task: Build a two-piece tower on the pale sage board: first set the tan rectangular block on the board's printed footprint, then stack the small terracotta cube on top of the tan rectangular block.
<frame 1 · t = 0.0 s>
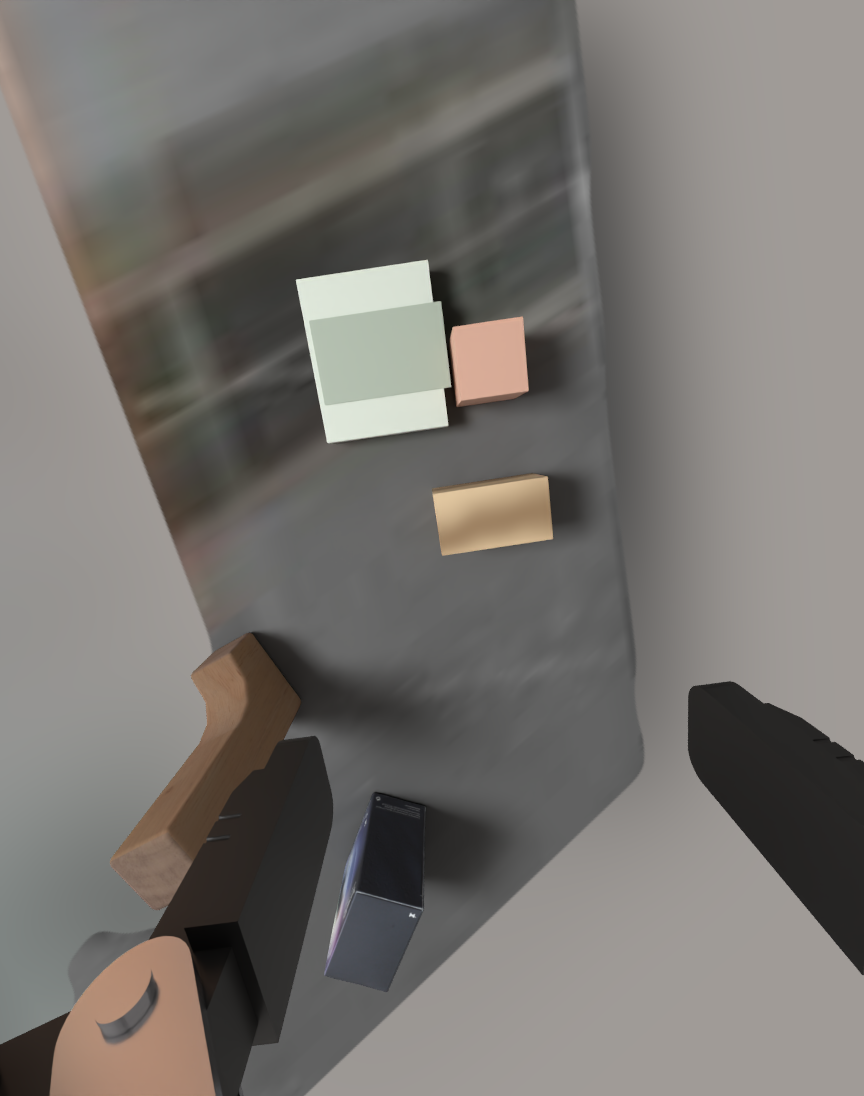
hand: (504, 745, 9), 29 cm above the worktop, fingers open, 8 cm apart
cube: (482, 372, 35), on the worktop
small box: (384, 832, 46), on the worktop
pad: (378, 361, 34), on the worktop
tan rectangular block: (485, 508, 37), on the worktop
wooden block: (260, 675, 41), on the worktop
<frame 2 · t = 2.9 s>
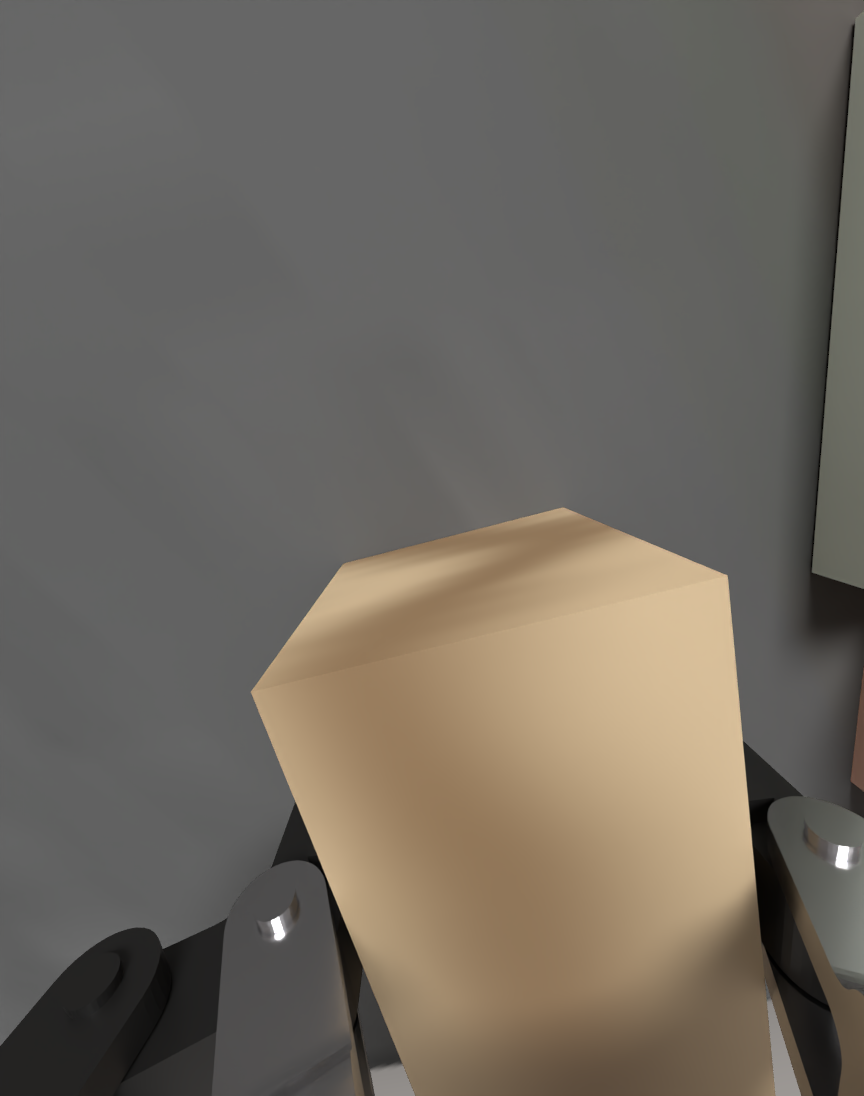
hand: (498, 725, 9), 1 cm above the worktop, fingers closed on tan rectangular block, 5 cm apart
tan rectangular block: (495, 709, 10), on the worktop, touching gripper
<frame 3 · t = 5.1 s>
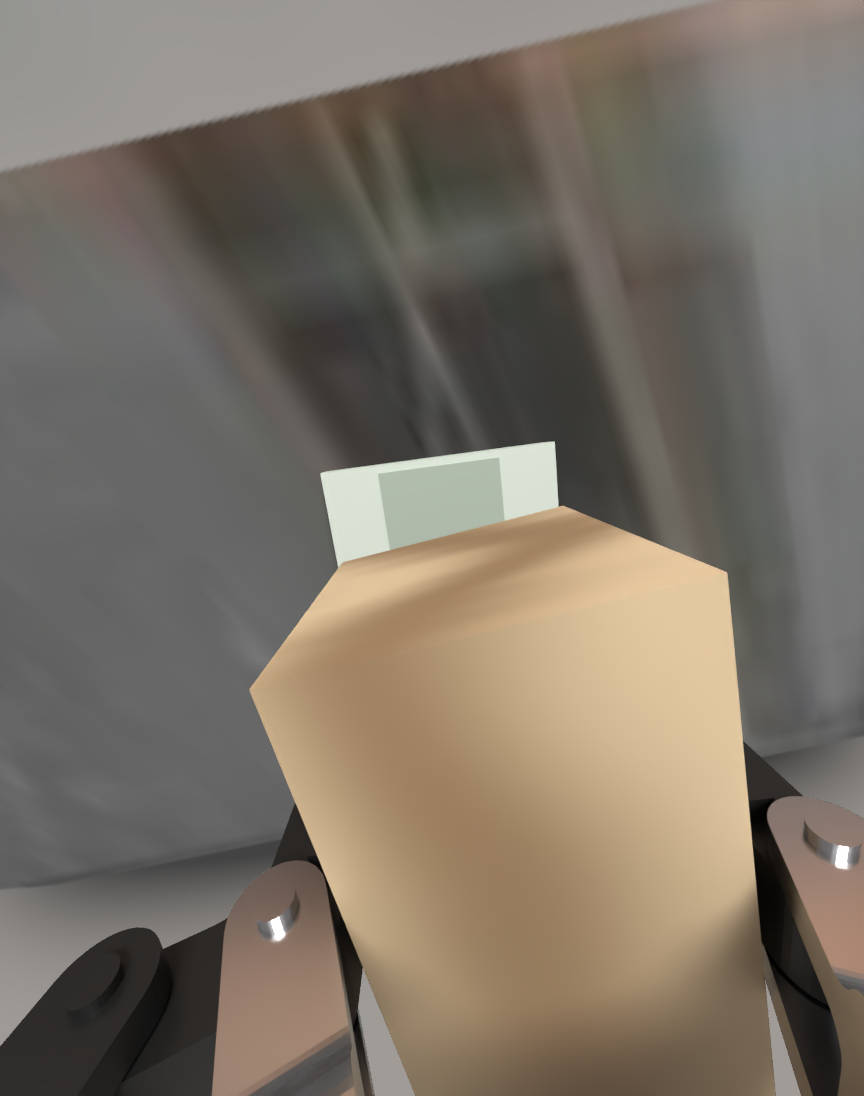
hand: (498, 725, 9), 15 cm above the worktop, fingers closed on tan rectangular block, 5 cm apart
pad: (446, 543, 24), on the worktop
tan rectangular block: (495, 708, 10), point 14 cm above the worktop, touching gripper
when the fingers open (3 cm above the worktop, at t = 7.8 s): tan rectangular block stays where it is, resting on pad.
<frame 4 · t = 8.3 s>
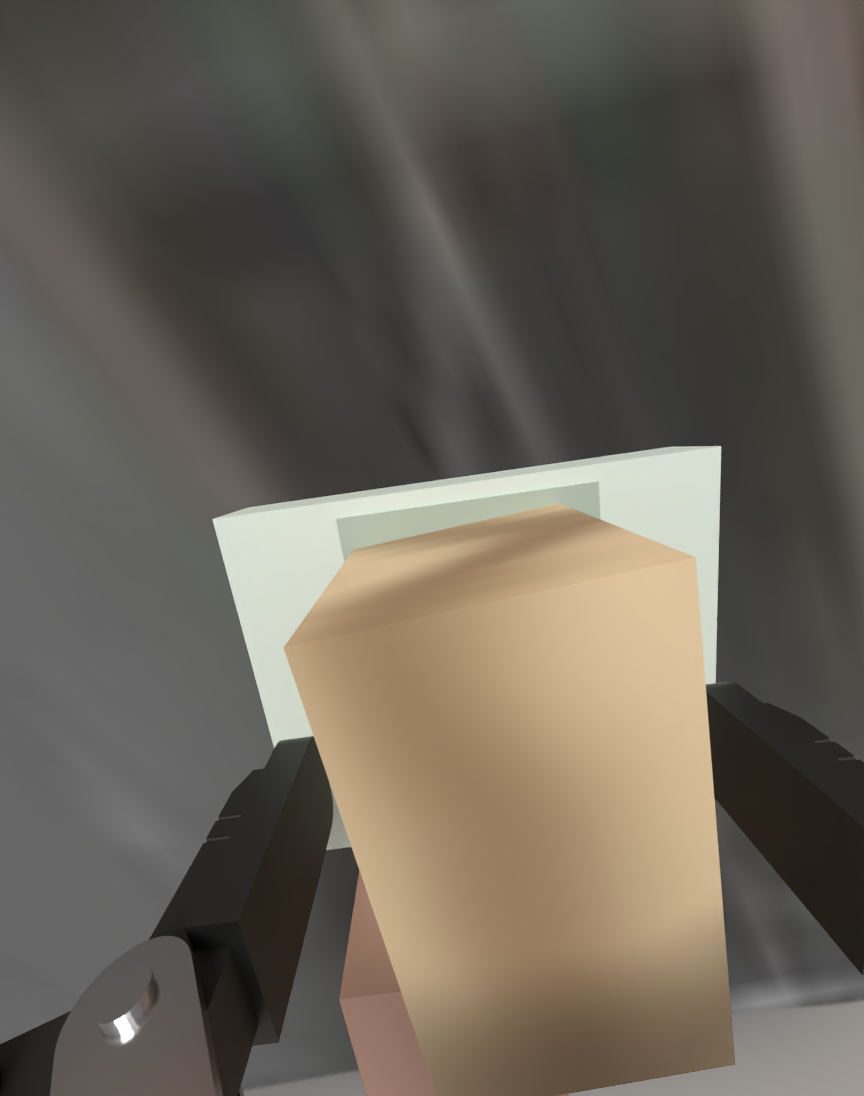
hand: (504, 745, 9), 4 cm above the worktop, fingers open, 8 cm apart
cube: (449, 859, 15), on the worktop
pad: (477, 639, 13), on the worktop
tan rectangular block: (491, 691, 11), point 2 cm above the worktop, touching pad
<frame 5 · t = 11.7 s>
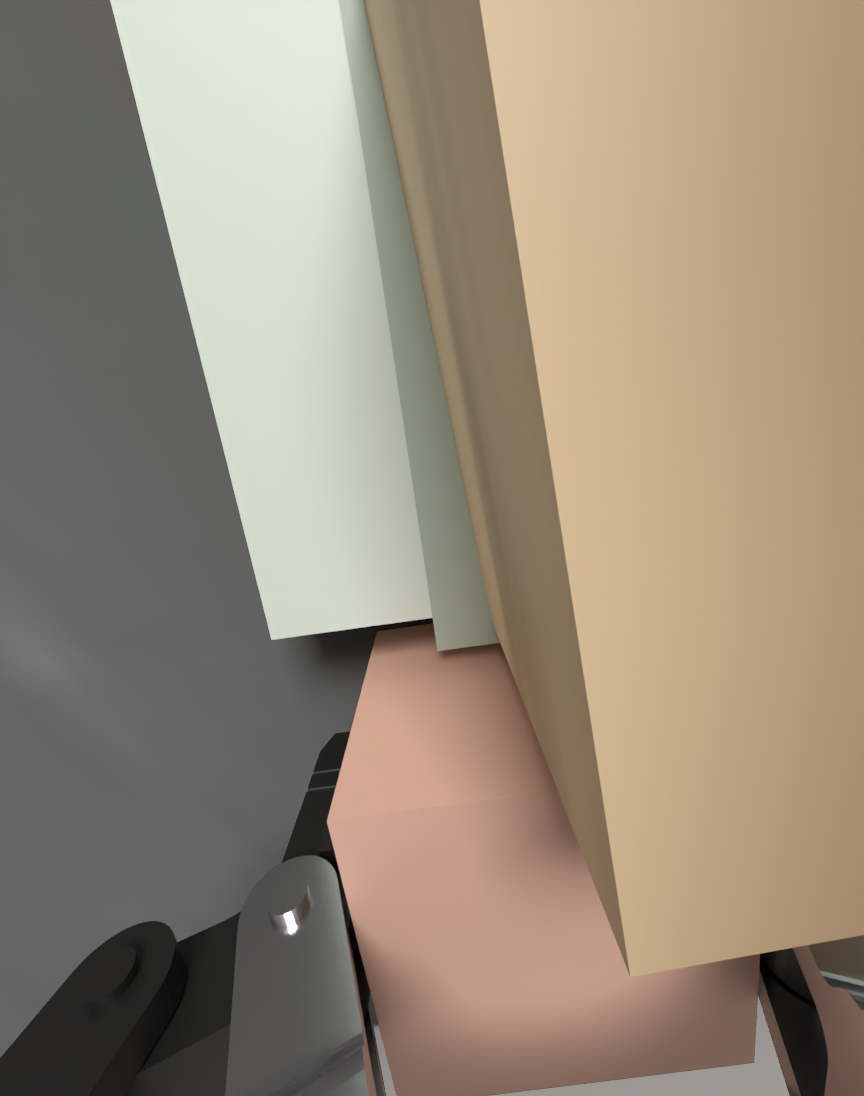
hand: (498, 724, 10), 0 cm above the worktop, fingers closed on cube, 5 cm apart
cube: (495, 710, 10), on the worktop, touching gripper
pad: (553, 318, 8), on the worktop
tan rectangular block: (600, 307, 6), point 2 cm above the worktop, touching pad
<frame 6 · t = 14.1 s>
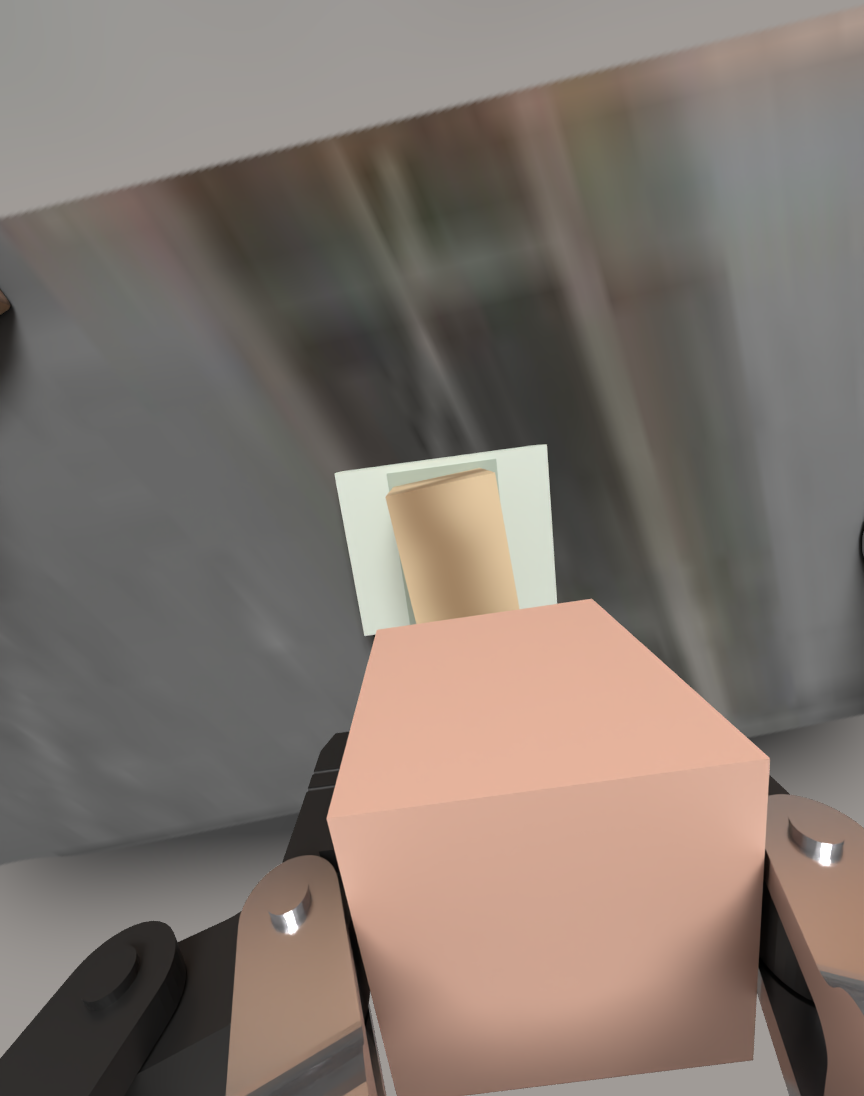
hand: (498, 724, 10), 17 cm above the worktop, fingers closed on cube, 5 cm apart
cube: (495, 708, 10), point 17 cm above the worktop, touching gripper
pad: (448, 537, 26), on the worktop
tan rectangular block: (452, 552, 24), point 2 cm above the worktop, touching pad
when the fingers open (8 cm above the worktop, at t = 16.2 s): cube stays where it is, resting on tan rectangular block.
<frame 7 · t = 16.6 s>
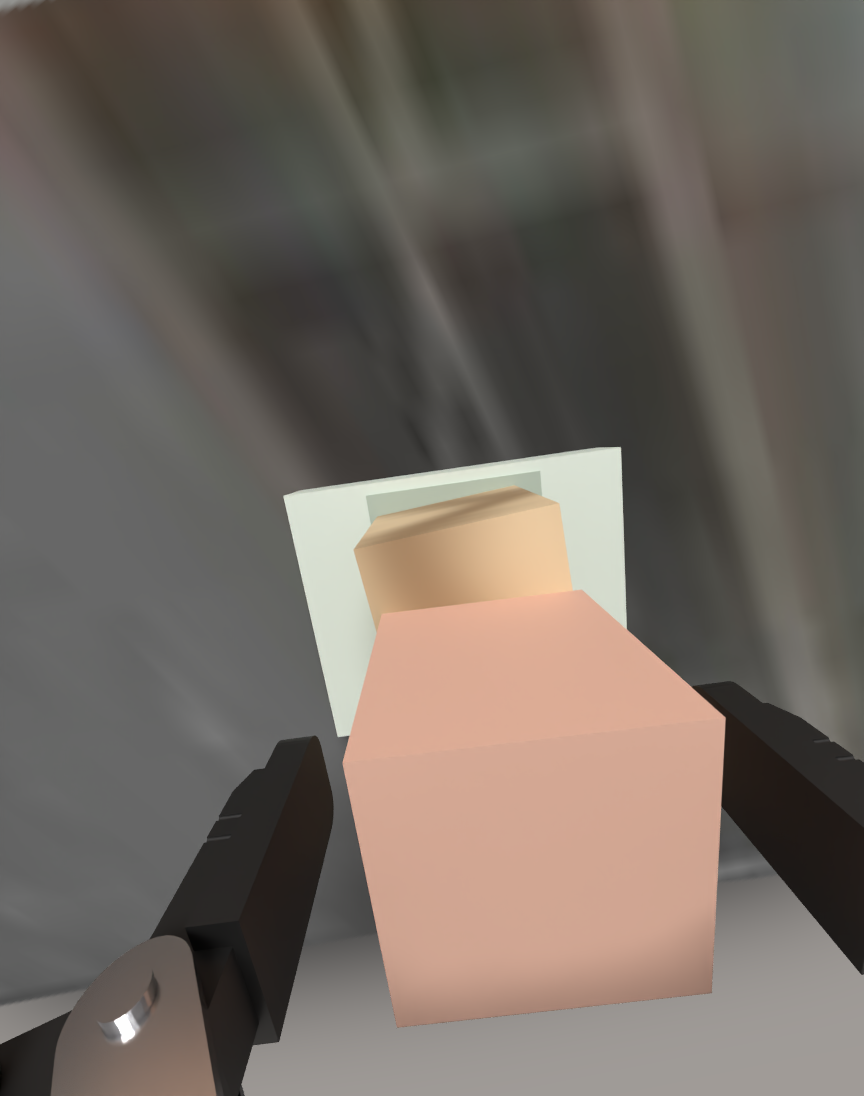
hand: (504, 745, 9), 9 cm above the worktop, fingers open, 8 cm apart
cube: (490, 690, 11), point 7 cm above the worktop, touching tan rectangular block
pad: (463, 586, 18), on the worktop
tan rectangular block: (470, 616, 16), point 2 cm above the worktop, touching cube, pad
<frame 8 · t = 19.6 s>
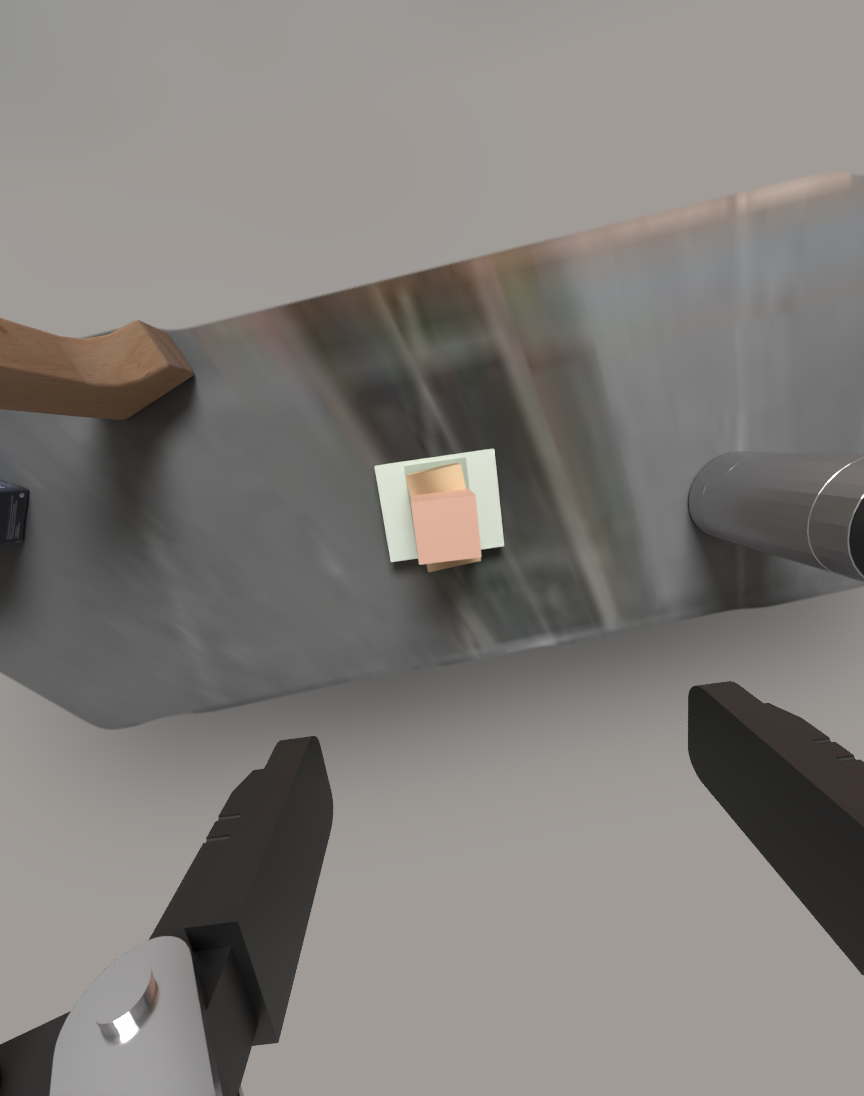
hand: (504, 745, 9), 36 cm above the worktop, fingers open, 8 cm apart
cube: (444, 519, 37), point 7 cm above the worktop, touching tan rectangular block
pad: (440, 504, 44), on the worktop
tan rectangular block: (441, 511, 42), point 2 cm above the worktop, touching cube, pad
wooden block: (147, 378, 41), on the worktop
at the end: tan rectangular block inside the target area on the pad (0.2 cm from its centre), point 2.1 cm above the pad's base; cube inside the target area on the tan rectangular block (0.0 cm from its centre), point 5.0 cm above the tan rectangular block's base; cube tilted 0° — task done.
